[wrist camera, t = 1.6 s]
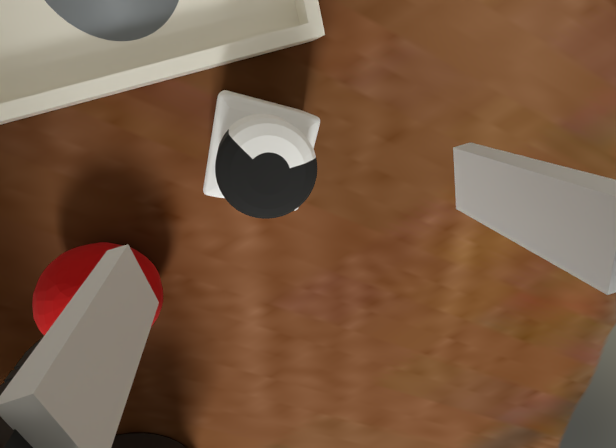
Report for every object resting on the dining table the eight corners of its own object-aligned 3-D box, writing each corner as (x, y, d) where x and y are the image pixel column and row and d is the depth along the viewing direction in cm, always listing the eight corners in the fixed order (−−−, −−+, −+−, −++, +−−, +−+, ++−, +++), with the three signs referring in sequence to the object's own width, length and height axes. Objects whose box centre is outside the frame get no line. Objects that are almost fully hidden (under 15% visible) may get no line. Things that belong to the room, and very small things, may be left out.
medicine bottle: (285, 186, 32) (312, 239, 22) (208, 171, 30) (195, 221, 20) (303, 110, 30) (343, 126, 19) (221, 88, 28) (215, 93, 17)
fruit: (187, 255, 33) (171, 320, 24) (143, 323, 35) (113, 407, 26) (89, 208, 30) (27, 264, 21) (46, 287, 31) (-29, 369, 22)
